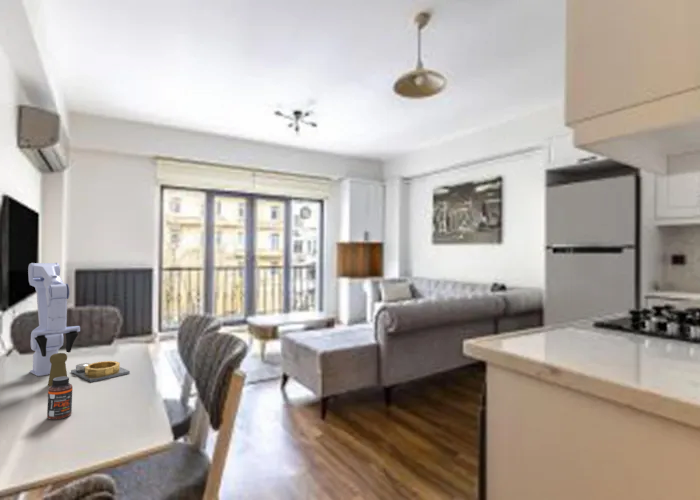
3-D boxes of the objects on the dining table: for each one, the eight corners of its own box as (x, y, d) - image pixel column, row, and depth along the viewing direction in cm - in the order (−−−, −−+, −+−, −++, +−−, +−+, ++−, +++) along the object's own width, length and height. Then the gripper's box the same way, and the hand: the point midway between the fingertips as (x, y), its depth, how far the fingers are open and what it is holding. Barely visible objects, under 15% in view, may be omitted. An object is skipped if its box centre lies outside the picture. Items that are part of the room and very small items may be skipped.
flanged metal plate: (71, 372, 160) (71, 363, 160) (108, 364, 171) (109, 356, 171) (90, 382, 149) (90, 373, 149) (129, 373, 161) (129, 364, 161)
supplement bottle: (52, 422, 116) (53, 383, 116) (43, 417, 119) (44, 378, 119) (75, 415, 121) (76, 377, 121) (66, 410, 124) (67, 373, 124)
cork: (57, 387, 144) (58, 356, 143) (43, 385, 145) (43, 355, 145) (72, 382, 149) (72, 352, 149) (58, 380, 151) (59, 351, 151)
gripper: (36, 320, 140) (36, 360, 140) (83, 315, 152) (83, 352, 152) (30, 318, 144) (29, 356, 144) (76, 313, 156) (75, 348, 156)
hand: (56, 354), depth 148 cm, fingers open, 7 cm apart
